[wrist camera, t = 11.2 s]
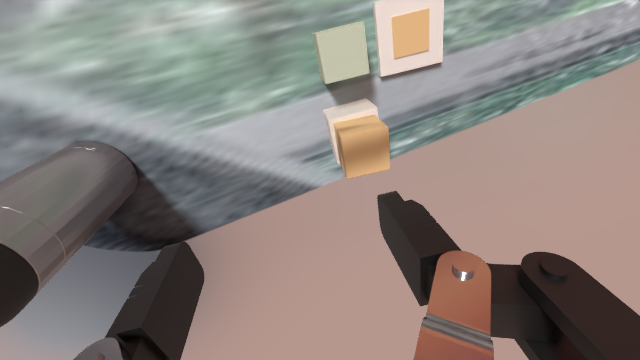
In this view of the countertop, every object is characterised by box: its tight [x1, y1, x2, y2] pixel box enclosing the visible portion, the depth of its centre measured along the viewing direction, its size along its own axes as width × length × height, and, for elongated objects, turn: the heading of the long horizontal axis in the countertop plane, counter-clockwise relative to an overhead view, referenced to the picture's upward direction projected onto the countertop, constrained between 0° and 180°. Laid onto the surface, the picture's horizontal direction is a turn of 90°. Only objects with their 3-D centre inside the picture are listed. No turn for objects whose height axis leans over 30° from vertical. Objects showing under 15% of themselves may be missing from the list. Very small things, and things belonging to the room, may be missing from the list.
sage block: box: [312, 22, 369, 84], centre depth 30 cm, size 5×5×5 cm
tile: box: [373, 0, 444, 77], centre depth 31 cm, size 8×8×1 cm
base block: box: [323, 98, 378, 164], centre depth 35 cm, size 6×6×5 cm
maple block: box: [333, 115, 390, 179], centre depth 30 cm, size 5×5×5 cm
